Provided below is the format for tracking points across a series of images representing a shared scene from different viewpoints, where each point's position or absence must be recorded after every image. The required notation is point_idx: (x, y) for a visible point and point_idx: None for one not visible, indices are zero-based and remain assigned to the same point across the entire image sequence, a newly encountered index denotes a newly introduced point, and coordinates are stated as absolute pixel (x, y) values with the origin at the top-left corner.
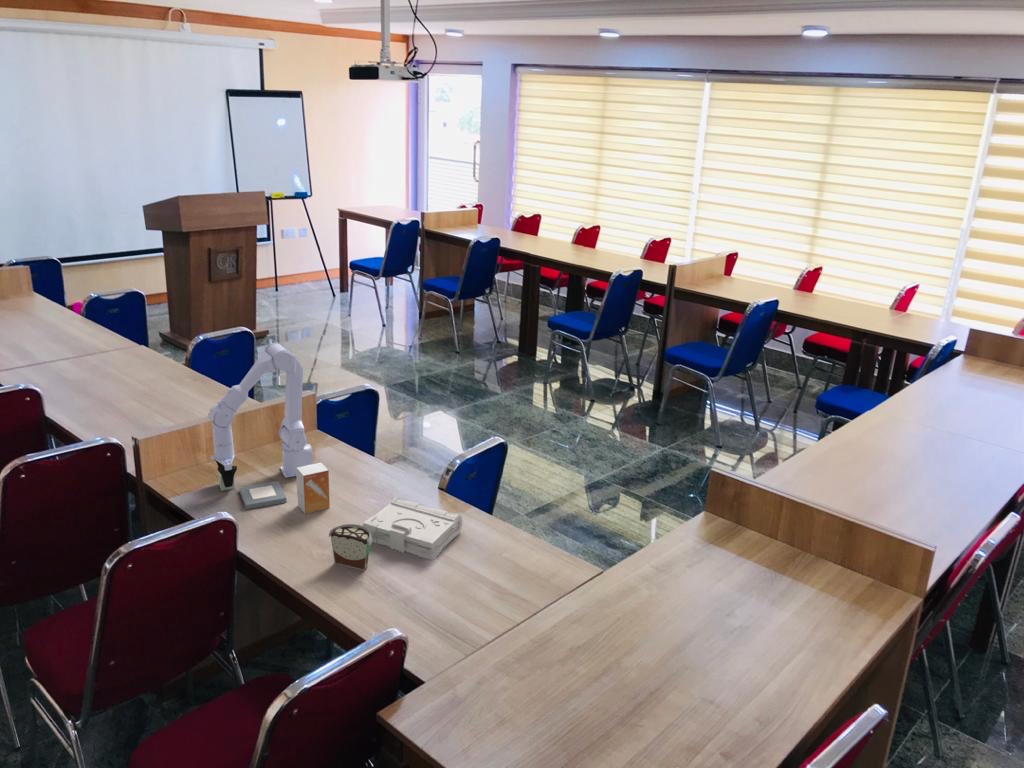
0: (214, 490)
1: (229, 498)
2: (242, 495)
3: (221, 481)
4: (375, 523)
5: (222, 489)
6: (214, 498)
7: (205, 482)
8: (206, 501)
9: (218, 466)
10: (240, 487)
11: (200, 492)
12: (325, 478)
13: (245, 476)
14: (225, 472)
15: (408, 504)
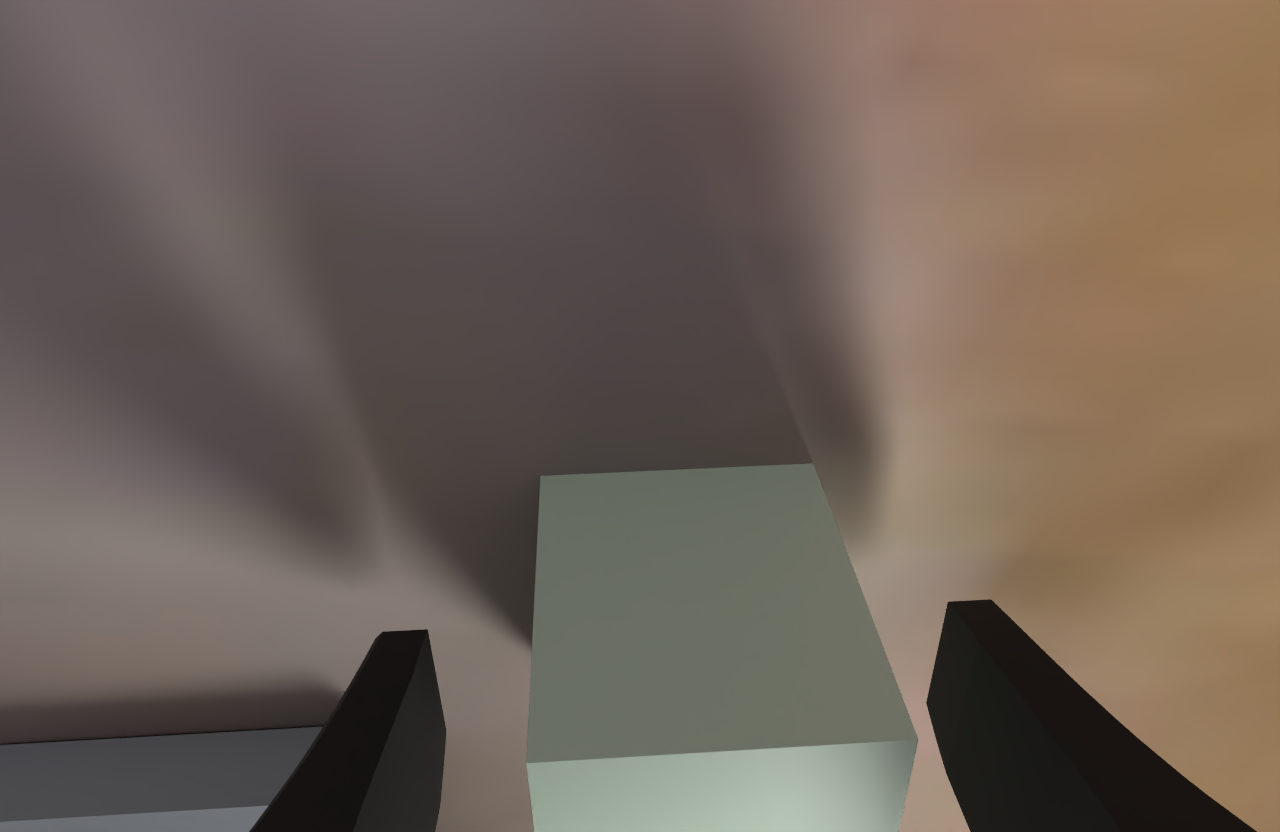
0: (601, 351)
1: (142, 573)
2: (10, 822)
3: (535, 649)
4: None
5: (540, 508)
6: (180, 316)
7: (1114, 203)
8: (25, 121)
9: (1111, 821)
10: None
11: (609, 20)
12: None
13: (935, 812)
14: None
15: None
